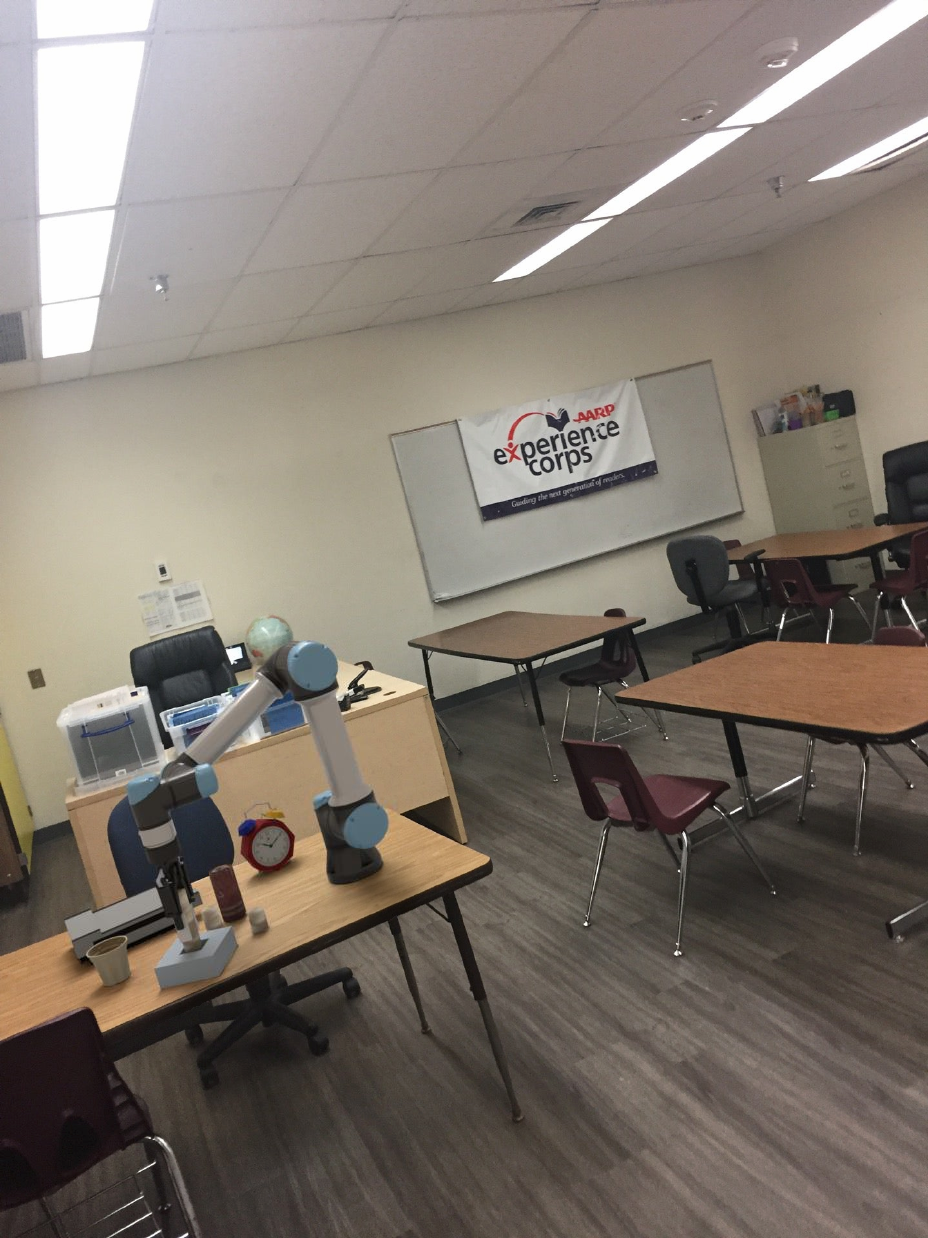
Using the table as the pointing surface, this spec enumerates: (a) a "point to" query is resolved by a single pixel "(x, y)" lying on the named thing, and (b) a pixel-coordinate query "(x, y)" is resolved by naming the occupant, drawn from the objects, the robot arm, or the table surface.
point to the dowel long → (189, 923)
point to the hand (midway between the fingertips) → (190, 935)
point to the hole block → (196, 959)
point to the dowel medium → (212, 918)
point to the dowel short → (258, 919)
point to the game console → (122, 922)
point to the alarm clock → (266, 841)
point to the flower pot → (111, 960)
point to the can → (227, 892)
